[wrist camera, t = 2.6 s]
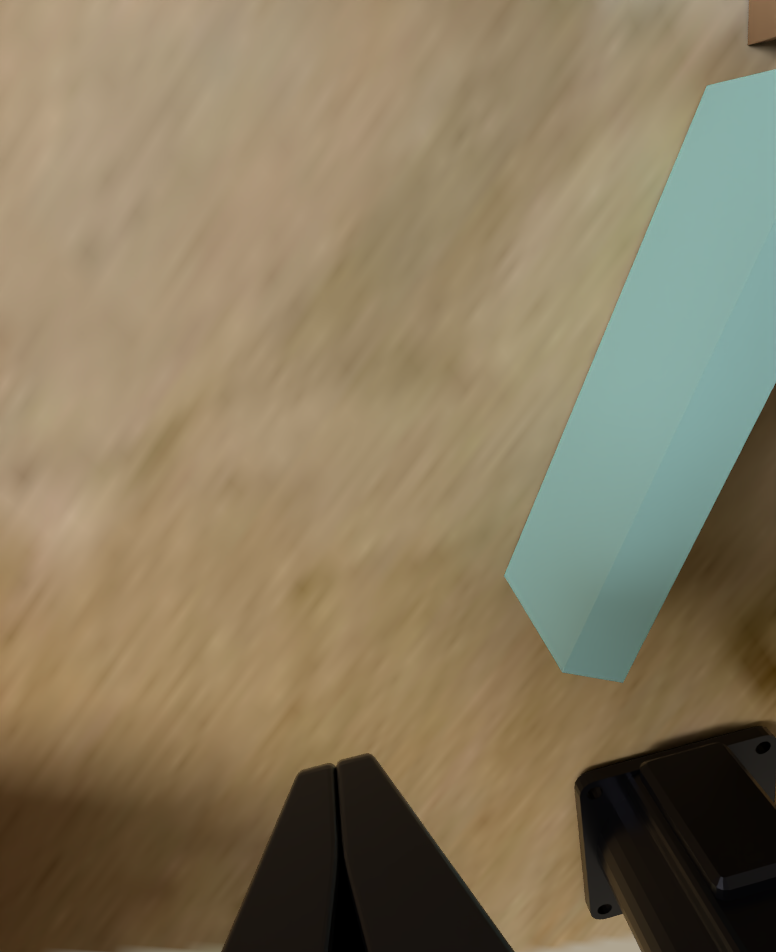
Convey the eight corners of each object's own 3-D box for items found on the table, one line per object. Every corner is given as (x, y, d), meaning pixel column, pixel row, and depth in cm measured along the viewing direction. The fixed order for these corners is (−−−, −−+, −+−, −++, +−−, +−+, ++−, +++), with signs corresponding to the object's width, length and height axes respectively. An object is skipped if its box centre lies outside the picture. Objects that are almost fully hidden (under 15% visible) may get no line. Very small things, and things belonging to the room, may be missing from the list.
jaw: (781, -100, 13) (974, -211, 10) (843, -67, 14) (1051, -161, 10) (502, 575, 18) (560, 671, 15) (554, 586, 19) (622, 683, 15)
